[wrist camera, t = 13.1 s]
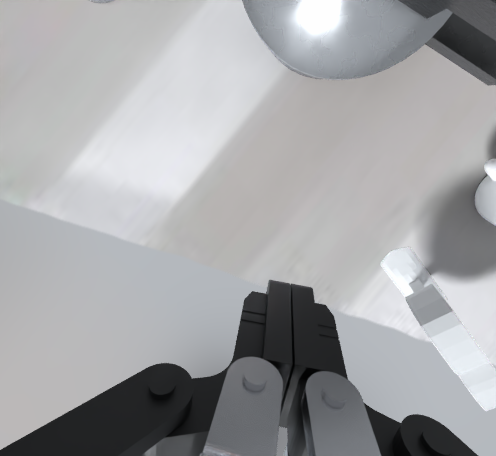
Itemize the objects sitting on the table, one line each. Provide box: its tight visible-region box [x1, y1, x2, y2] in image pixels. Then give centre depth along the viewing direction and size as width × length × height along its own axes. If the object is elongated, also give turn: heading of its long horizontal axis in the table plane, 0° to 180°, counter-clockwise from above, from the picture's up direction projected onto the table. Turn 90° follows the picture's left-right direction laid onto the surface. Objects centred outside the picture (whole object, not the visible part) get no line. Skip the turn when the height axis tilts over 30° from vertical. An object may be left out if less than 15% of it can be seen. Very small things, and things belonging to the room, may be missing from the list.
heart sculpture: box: [380, 247, 496, 411], centre depth 41 cm, size 16×5×18 cm, turn 40°
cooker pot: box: [271, 13, 496, 85], centre depth 31 cm, size 27×18×11 cm, turn 61°
